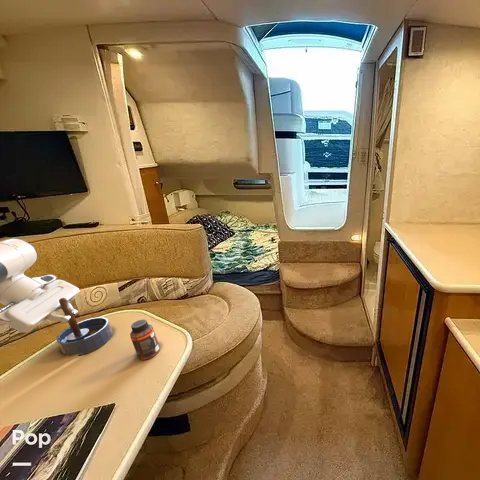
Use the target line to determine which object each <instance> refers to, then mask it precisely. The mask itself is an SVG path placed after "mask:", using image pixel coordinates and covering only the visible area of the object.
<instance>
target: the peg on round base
mask: <svg viewBox="0 0 480 480" xmlns="http://www.w3.org/2000/svg"><path fill="white" fill-rule="evenodd" d="M59 303H60V305H61V307H62V309H61V311H62V313H63V314H64V315H68V316H71V319H70V320H69V321H68V322H67V323H68V325H69V327H71V329H72V332H73V333H71V334H70V335H68V337H67V341H68V342H74V341H78V340H81V339H84V338H86V337H89V336H91V335H92V334H91V332H90V331H89V329H80V328H79V326H78V324H77V323H78V322H77V319H76V316H74V315H73V312H72V310H71V308H70V306H69V303H70V302H69V303H68V301H67V299H66V298H61V299H60V300H59Z"/></svg>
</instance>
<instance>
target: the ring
mask: <svg viewBox="0 0 480 480" xmlns="http://www.w3.org/2000/svg"><path fill="white" fill-rule="evenodd" d="M77 324H78V326H79V328H80V329H89V331H90V333H91V332H93V331H96V332H95V333H92V334H91V336H89V337H86V338H84V339H81V340H78V341H74V342H68V341H67V337H68V335H70V334H71V333H73V332H72V329H71V327H70V326H69V327H67V328H66V329H64V330H63V331H61V332H60V333H59V334H58V336H57V337H56V342H57V344H58V345H57V346H58V347H59V349H60V351H61V353H62V354H64V355H66V356H74V355H77V357H80V356H85V355H87V354H89V353H92V352H94V351H96V350H98V349H100V348H101V347H103V346H104V345H106V344H107V343H108V342H109V340H111V338H112V337H113V336H114V333H113V328H112V325H111V322H110V320H109V319H108V318H107V317H104V316H97V317H92V318H87V319H85V320H82V321H79V322H77Z"/></svg>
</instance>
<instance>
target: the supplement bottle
mask: <svg viewBox="0 0 480 480" xmlns="http://www.w3.org/2000/svg"><path fill="white" fill-rule="evenodd" d="M130 328H131V331H130V334H129V337H130V340H131V342H132V346H133V348H134V351H135V353H136V356H137V358H138V359H139V360H141V361H146V360H149V359H152V358H153V357H155V356H156V355H157V354H158V353H159V352H160V350H161V347H160V344H159V341H158V338H157V335H156V332H155V329H154V326H153V325H152V324H149V323H148V321H147V320H146V319H144V318H143V319H138V320H136V321H134V322H133V323H131V325H130Z"/></svg>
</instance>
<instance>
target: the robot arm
mask: <svg viewBox="0 0 480 480" xmlns="http://www.w3.org/2000/svg"><path fill="white" fill-rule="evenodd" d="M38 255H39V254H38V251H37V249H36V248H35V246H34V245H32V244H31V243H30V242H28V241H27V240H24V239H22V238H21V239H20V238H7V239H3V240H0V304H1V305H4V306H3V307H0V322H3V323H4V324H6V325H7V326H9V327H10V328H12V329H14V330H15V331H17V332H18V333H19V332H20V333H30V332H31V331H33V330H34V329H36V328H37V327H38V326H40V325H41V324H42V323H43V322H45V321H46V320H48V321H50V322H61V323H63V324H67V323H68V321H69V320H70V319H71V316H68V315H65V314H64V315H62V314H58V311H60V310H62V307H61V305H60V303H59V300H60V299H61V298H66V299H67V301H68V303H69V306H70V308H71V310H72V312H73V315H74V317H76V316H77V315H78V313H79V310H77V309H75V308H74V307H73V305H72V304H71V302H72V301H73V300H75V299H76V298H77V297H78V296H79V294H80V293H81V291H80V288H79V287H78V286H76V285H74V284H72V283H70V282H68V281H66V280H64V279H57V276H56V275H54V274H46V275H42V276H35V277H29V276H27V275H25V272H26V271H28V270H29V269H30V268H32V266H34V265H35V263H36V262H37V261H38V257H39V256H38Z"/></svg>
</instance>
